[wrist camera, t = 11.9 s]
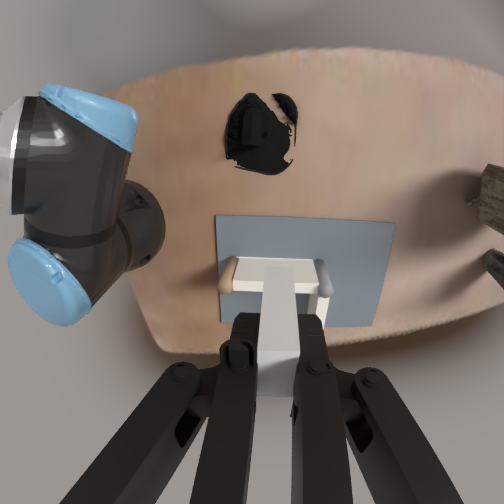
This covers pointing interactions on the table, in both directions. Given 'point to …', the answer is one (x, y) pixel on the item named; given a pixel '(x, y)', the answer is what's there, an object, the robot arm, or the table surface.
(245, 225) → the card
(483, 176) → the tabletop clock
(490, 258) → the beverage cup
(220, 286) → the fixed fence section
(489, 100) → the table surface
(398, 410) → the robot arm
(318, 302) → the cream upright panel
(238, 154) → the black jagged rounded shell
